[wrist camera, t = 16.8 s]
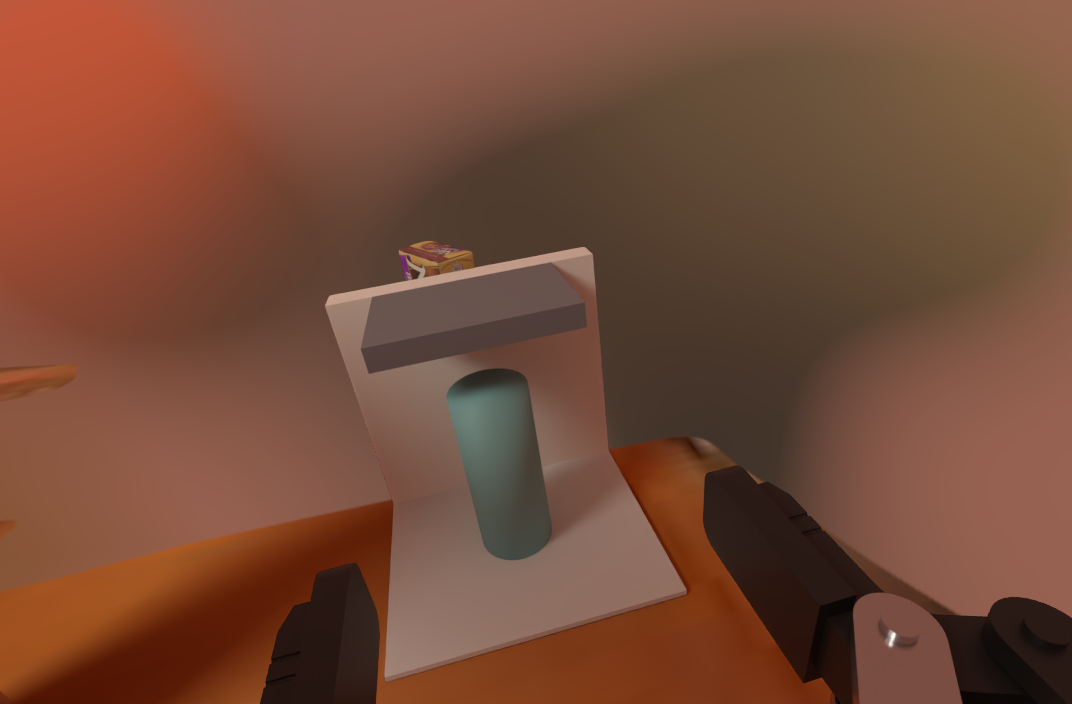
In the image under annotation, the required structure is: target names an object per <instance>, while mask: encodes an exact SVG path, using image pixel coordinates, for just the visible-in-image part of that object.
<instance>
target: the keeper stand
mask: <svg viewBox="0 0 1072 704" xmlns="http://www.w3.org/2000/svg"><path fill="white" fill-rule="evenodd" d="M325 308H326V311H327V313H328V316H329V319H330V322H331V325H332V328H333V331H334V334H335V336H336V339H337V342H338V345H339V348H340V351H341V354H342V356H343V359H344V362H345V365H346V368H347V371H348V374H349V377H350V380H351V383H352V385H353V388H354V391H355V394H356V397H357V400H358V403H359V406H360V408H361V411H362V414H363V417H364V420H365V423H366V425H367V429H368V431H369V434H370V437H371V440H372V443H373V446H374V449H375V452H376V454H377V457H378V460H379V463H380V466H381V469H382V472H383V475H384V478H385V480H386V483H387V486H388V489H389V492H390V494H391V498H392V501H393V503H394V507H393V526H392V545H391V564H390V583H389V602H388V620H387V639H386V658H385V677H384V678H385V680H386V682H388V681H391V680H395V679H398V678H402V677H405V676H408V675H412V674H415V673H419V672H422V671H426V670H429V669H432V668H436V667H439V666H443V665H446V664H450V663H453V662H457V661H460V660H463V659H467V658H470V657H474V656H477V655H481V654H484V653H487V652H491V651H494V650H498V649H501V648H505V647H508V646H511V645H515V644H518V643H522V642H525V641H529V640H532V639H536V638H539V637H542V636H546V635H549V634H553V633H556V632H560V631H563V630H566V629H570V628H573V627H577V626H580V625H584V624H587V623H591V622H594V621H597V620H601V619H604V618H608V617H611V616H615V615H618V614H621V613H625V612H628V611H632V610H635V609H639V608H642V607H645V606H649V605H652V604H656V603H659V602H663V601H666V600H670V599H673V598H676V597H680V596H683V595H687V590H686V588H685V586H684V584H683V582H682V581H681V579H680V577H679V575H678V574H677V572H676V570H675V568H674V566H673V565H672V563H671V561H670V559H669V557H668V556H667V554H666V552H665V550H664V548H663V547H662V545H661V543H660V541H659V540H658V538H657V536H656V534H655V532H654V531H653V529H652V527H651V525H650V523H649V522H648V520H647V518H646V516H645V515H644V513H643V511H642V509H641V507H640V506H639V504H638V502H637V500H636V498H635V497H634V495H633V493H632V491H631V490H630V488H629V486H628V484H627V482H626V481H625V479H624V477H623V475H622V473H621V472H620V470H619V468H618V466H617V464H616V463H615V461H614V459H613V457H612V456H611V454H610V452H609V447H608V435H607V423H606V411H605V399H604V388H603V376H602V363H601V351H600V339H599V327H598V315H597V303H596V290H595V279H594V266H593V254H592V253H591V252H589V251H588V250H587V249H586V248H585V247H581V248H576V249H570V250H565V251H560V252H555V253H549V254H544V255H539V256H534V257H529V258H524V259H519V260H513V261H508V262H503V263H498V264H492V265H487V266H482V267H477V268H471V269H466V270H461V271H456V272H451V273H445V274H440V275H435V276H430V277H425V278H420V279H414V280H409V281H404V282H399V283H394V284H389V285H383V286H378V287H373V288H368V289H363V290H358V291H352V292H347V293H342V294H336V295H331V296H329V298H328V300H327V303H326V305H325ZM494 368H504V369H511V370H515V371H518V372H520V373H521V374H523V375H524V376H525V377H526V379H527V381H528V386H529V392H530V398H531V404H532V410H533V416H534V422H535V428H536V434H537V440H538V446H539V452H540V458H541V464H542V470H543V476H544V483H545V489H546V495H547V501H548V507H549V513H550V519H551V525H552V532H551V536H550V539H549V541H548V542H547V544H546V545H545V546H544V547H543V548H542V549H541V550H540V551H539V552H537V553H536V554H534V555H532V556H530V557H527V558H524V559H520V560H504V559H500V558H497V557H495V556H493V555H492V554H490V553H489V552H488V551H487V549H486V548H485V546H484V544H483V540H482V536H481V532H480V528H479V524H478V520H477V517H476V513H475V509H474V505H473V501H472V497H471V493H470V489H469V485H468V481H467V477H466V474H465V470H464V466H463V462H462V458H461V454H460V450H459V446H458V442H457V438H456V435H455V431H454V427H453V423H452V419H451V415H450V411H449V407H448V403H447V399H446V395H447V392H448V390H449V388H450V387H451V386H452V385H453V384H454V383H455V382H456V381H458V380H459V379H461V378H463V377H465V376H467V375H469V374H471V373H474V372H477V371H481V370H486V369H494Z"/></svg>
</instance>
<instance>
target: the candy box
mask: <svg viewBox="0 0 1072 704" xmlns="http://www.w3.org/2000/svg"><path fill="white" fill-rule="evenodd" d="M399 254H400V258H401V262H402V266H403V271H404V275H405V279H406V281H409V280H414V279H420V278H425V277H430V276H435V275H440V274H445V273H451V272H456V271H461V270H466V269H471V268H475V263H474V258H473V253H472V252H470V251H467V250H463V249H459V248H455V247H452V246H449V245H444V244H441V243H438V242H433V241H425V242H421V243H417V244H414V245H411V246H409V247H406V248H403V249H400V250H399Z"/></svg>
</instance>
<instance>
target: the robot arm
mask: <svg viewBox="0 0 1072 704" xmlns="http://www.w3.org/2000/svg"><path fill="white" fill-rule="evenodd" d="M703 523H704V528H705V532H706V535H707V538H708V540H709V542H710V544H711V546H712V547H713V549H714V550H715V552H716V553H717V555H718V556H719V558H720V559H721V561H722V562H723V564H724V565H725V567H726V568H727V570H728V571H729V573H730V574H731V576H732V577H733V579H734V580H735V582H736V583H737V585H738V586H739V588H740V589H741V591H742V592H743V594H744V595H745V597H746V598H747V600H748V601H749V603H750V604H751V606H752V607H753V609H754V610H755V612H756V613H757V615H758V616H759V618H760V619H761V621H762V622H763V624H764V625H765V627H766V628H767V630H768V631H769V633H770V634H771V636H772V637H773V639H774V640H775V642H776V643H777V645H778V646H779V648H780V649H781V651H782V652H783V654H784V655H785V657H786V658H787V660H788V661H789V663H790V664H791V665H792V667H793V668H794V670H795V671H796V673H797V674H798V676H799V677H800V679H801V680H802V682H803V683H806V682H809V681H812V680H815V679H818V678H821V677H822V678H823V679H824V681H825V682H826V684H827V685H828V686H829V688H830V689H831V691H832V693H831V704H1072V618H1071V617H1069V616H1068V615H1066V614H1065V613H1063V612H1061V611H1059V610H1057V609H1056V608H1053V607H1051V606H1049V605H1047V604H1044V603H1041V602H1038V601H1035V600H1031V599H1027V598H1020V597H1008V598H1003V599H1000V600H998V601H997V602H996V603H994V604H993V606H992V607H991V609H990V612H989V614H988V616H987V617H982V616H957V615H937V614H930V613H928V612H927V611H926V610H925V609H923V608H922V607H920V606H919V605H917V604H916V603H914V602H912V601H910V600H908V599H905V598H903V597H900V596H897V595H894V594H889V593H884V592H883V591H882V590H881V589H880V588H879V587H878V586H877V585H876V584H875V583H874V582H873V581H872V580H871V579H870V578H869V577H868V576H867V575H866V574H865V573H864V572H863V571H862V570H861V569H860V568H859V567H858V565H857V564H856V563H855V562H854V561H853V560H852V559H851V558H850V557H849V556H848V555H847V554H846V553H845V552H844V551H843V550H842V549H841V548H840V547H839V546H838V545H837V543H836V542H835V541H834V540H833V539H832V538H831V537H830V536H829V535H828V534H827V533H826V532H825V531H822V530H821V527H820V526H819V525H818V524H817V522H816V521H815V520H814V519H813V518H812V517H811V516H808V515H807V512H806V511H805V510H804V509H803V508H802V507H801V506H800V505H799V504H798V503H797V502H796V501H795V499H794V498H793V497H792V496H791V495H789V494H788V493H786V492H784V491H783V490H781V489H779V488H777V487H776V486H774V485H772V484H770V483H769V482H765V483H761V484H757V483H756V481H755V480H754V479H753V478H752V477H751V476H750V475H749V474H748V473H747V471H746V470H745V469H744V468H742V467H741V466H738V465H736V466H732V467H728V468H725V469H721V470H717V471H713V472H709V473H707V474H706V476H705V486H704V510H703ZM379 640H380V631H379V621H378V615H377V611H376V608H375V605H374V602H373V600H372V598H371V595H370V593H369V591H368V588H367V586H366V583H365V581H364V579H363V576H362V574H361V571H360V569H359V567H358V565H357V564H356V563H351V564H347V565H344V566H340V567H336V568H332V569H328V570H324V571H320V572H318V573H317V575H316V578H315V582H314V587H313V592H312V597H311V601H310V602H306V603H303V604H299V605H295V606H294V607H293V608H292V610H291V612H290V613H289V615H288V616H287V618H286V620H285V621H284V623H283V624H282V626H281V628H280V629H279V631H278V633H277V637H276V641H275V645H274V649H273V653H272V657H271V660H272V663H271V664H270V665H269V669H268V674H267V678H266V687H265V688H264V690H263V694H262V698H261V702H260V704H376V692H377V675H378V657H379ZM0 704H13V703H12V702H11V701H10V700H9V699H8V698H7V697H6V696H5V695H4V694H3V693H2V692H1V691H0Z"/></svg>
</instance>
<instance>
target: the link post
mask: <svg viewBox="0 0 1072 704" xmlns="http://www.w3.org/2000/svg"><path fill="white" fill-rule="evenodd" d="M446 399H447V403H448V407H449V411H450V415H451V419H452V423H453V427H454V431H455V435H456V438H457V442H458V446H459V450H460V454H461V458H462V462H463V466H464V470H465V474H466V477H467V481H468V485H469V489H470V493H471V497H472V501H473V505H474V509H475V513H476V517H477V520H478V524H479V528H480V532H481V536H482V540H483V544H484V546H485V548H486V549H487V551H488V552H489V553H490V554H492V555H493V556H495V557H497V558H500V559H504V560H520V559H524V558H527V557H530V556H532V555H534V554H536V553H537V552H539V551H540V550H541V549H542V548H543V547H544V546H545V545H546V544H547V542H548V541H549V539H550V536H551V532H552V525H551V519H550V513H549V507H548V501H547V495H546V489H545V483H544V476H543V470H542V464H541V458H540V452H539V446H538V440H537V434H536V428H535V422H534V416H533V410H532V404H531V398H530V392H529V386H528V381H527V379H526V377H525V376H524V375H523V374H521V373H520V372H518V371H515V370H511V369H504V368H494V369H486V370H481V371H477V372H474V373H471V374H469V375H467V376H465V377H463V378H461V379H459V380H458V381H456V382H455V383H454V384H453V385H452V386H451V387H450V388H449V390H448V392H447V395H446Z"/></svg>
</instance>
